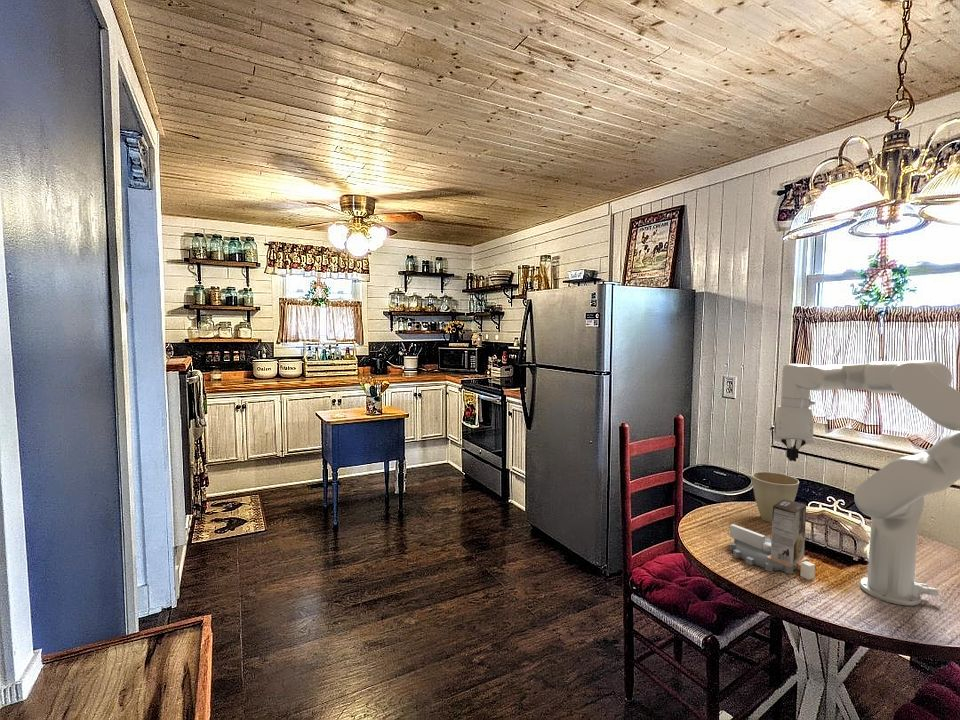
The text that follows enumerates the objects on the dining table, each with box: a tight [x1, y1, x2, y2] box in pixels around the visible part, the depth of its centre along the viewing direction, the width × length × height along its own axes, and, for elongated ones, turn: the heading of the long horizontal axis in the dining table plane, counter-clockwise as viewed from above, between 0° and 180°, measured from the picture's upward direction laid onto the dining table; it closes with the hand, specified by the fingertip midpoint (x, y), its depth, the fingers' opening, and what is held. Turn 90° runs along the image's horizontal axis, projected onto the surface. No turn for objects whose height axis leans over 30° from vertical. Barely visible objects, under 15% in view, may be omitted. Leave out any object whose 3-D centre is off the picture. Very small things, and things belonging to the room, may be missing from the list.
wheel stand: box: [799, 561, 816, 581], centre depth 147 cm, size 15×15×4 cm
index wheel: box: [729, 523, 810, 574], centre depth 151 cm, size 21×22×6 cm
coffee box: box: [770, 499, 807, 565], centre depth 145 cm, size 9×6×16 cm
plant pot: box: [751, 471, 800, 524], centre depth 180 cm, size 15×15×16 cm
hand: (792, 460), depth 155 cm, fingers closed
